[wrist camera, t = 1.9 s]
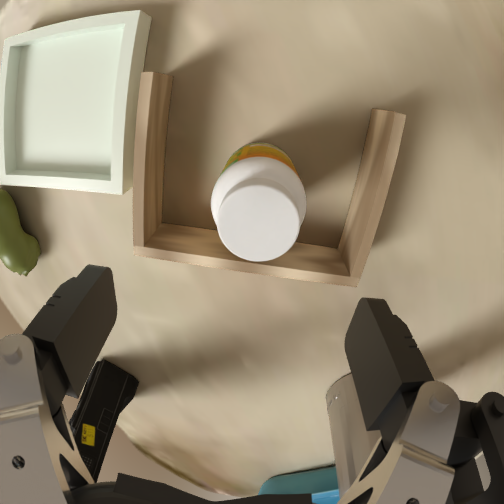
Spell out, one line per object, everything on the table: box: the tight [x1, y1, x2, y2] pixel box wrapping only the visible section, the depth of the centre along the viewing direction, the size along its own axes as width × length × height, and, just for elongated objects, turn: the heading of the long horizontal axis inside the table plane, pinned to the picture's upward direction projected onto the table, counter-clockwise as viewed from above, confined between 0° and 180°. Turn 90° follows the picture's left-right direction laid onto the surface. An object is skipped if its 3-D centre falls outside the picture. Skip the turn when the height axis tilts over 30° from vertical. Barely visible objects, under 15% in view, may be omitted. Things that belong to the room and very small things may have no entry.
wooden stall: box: [133, 72, 406, 287], centre depth 21 cm, size 17×13×4 cm
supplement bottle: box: [211, 143, 307, 261], centre depth 19 cm, size 5×5×10 cm
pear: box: [0, 189, 41, 276], centre depth 24 cm, size 6×5×10 cm
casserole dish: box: [258, 466, 340, 504], centre depth 48 cm, size 37×22×7 cm, turn 110°
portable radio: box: [69, 360, 139, 483], centre depth 24 cm, size 8×6×25 cm
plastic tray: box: [0, 10, 152, 195], centre depth 19 cm, size 14×14×2 cm
